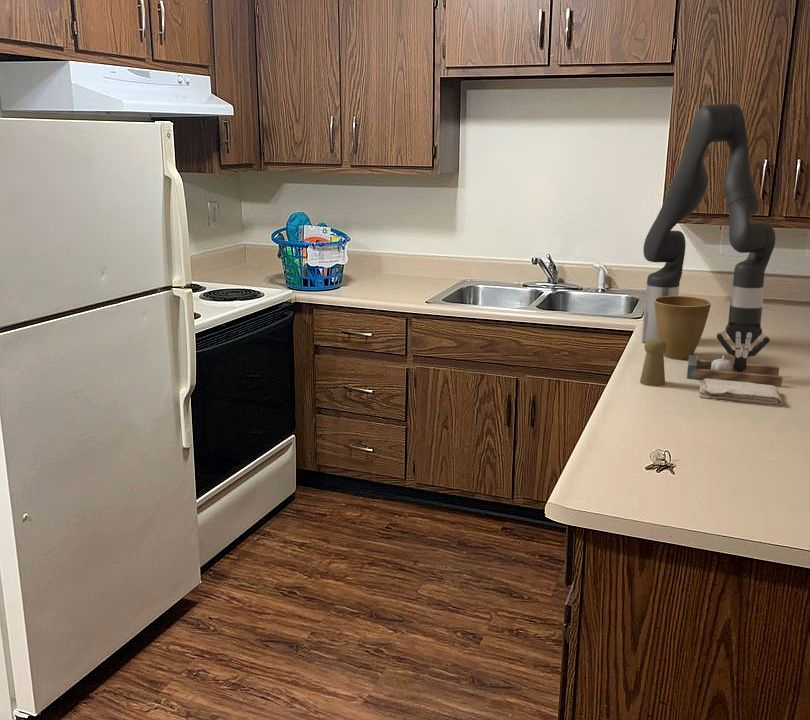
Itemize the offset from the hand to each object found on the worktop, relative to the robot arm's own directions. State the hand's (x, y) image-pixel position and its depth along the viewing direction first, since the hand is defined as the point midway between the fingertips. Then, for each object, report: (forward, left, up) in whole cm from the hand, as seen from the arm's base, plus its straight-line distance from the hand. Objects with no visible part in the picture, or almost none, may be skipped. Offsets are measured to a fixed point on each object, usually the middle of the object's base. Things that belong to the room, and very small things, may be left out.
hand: (739, 371), depth 208 cm
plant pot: (-16, +17, -2) cm, 23 cm away
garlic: (-4, 0, -2) cm, 5 cm away
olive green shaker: (-21, -13, -2) cm, 24 cm away
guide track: (-2, 0, -2) cm, 2 cm away
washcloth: (-1, -17, -2) cm, 17 cm away
